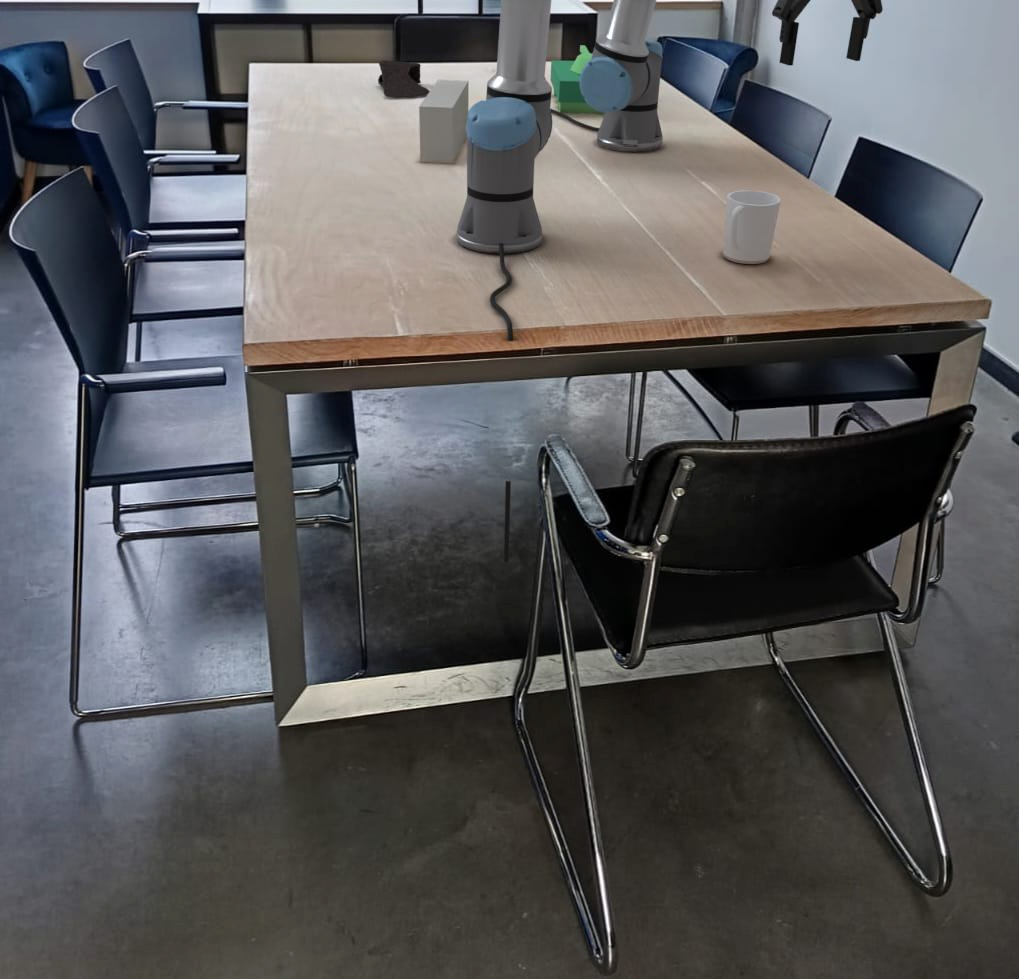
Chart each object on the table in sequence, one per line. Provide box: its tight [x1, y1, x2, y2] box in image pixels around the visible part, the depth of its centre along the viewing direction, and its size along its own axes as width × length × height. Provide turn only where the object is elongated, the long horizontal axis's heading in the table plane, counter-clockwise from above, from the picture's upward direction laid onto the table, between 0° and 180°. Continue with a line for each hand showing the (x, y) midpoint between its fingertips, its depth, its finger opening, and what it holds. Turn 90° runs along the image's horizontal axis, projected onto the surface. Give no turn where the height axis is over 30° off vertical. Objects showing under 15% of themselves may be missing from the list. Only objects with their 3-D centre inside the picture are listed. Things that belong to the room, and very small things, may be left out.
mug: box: [722, 189, 782, 265], centre depth 187 cm, size 11×9×10 cm
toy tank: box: [550, 44, 605, 115], centre depth 290 cm, size 18×12×35 cm
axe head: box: [377, 59, 430, 99], centre depth 299 cm, size 18×8×15 cm
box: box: [418, 79, 469, 164], centre depth 248 cm, size 28×7×12 cm, turn 175°
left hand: (819, 62), depth 183 cm, fingers open, 13 cm apart
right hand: (450, 14), depth 246 cm, fingers open, 13 cm apart
